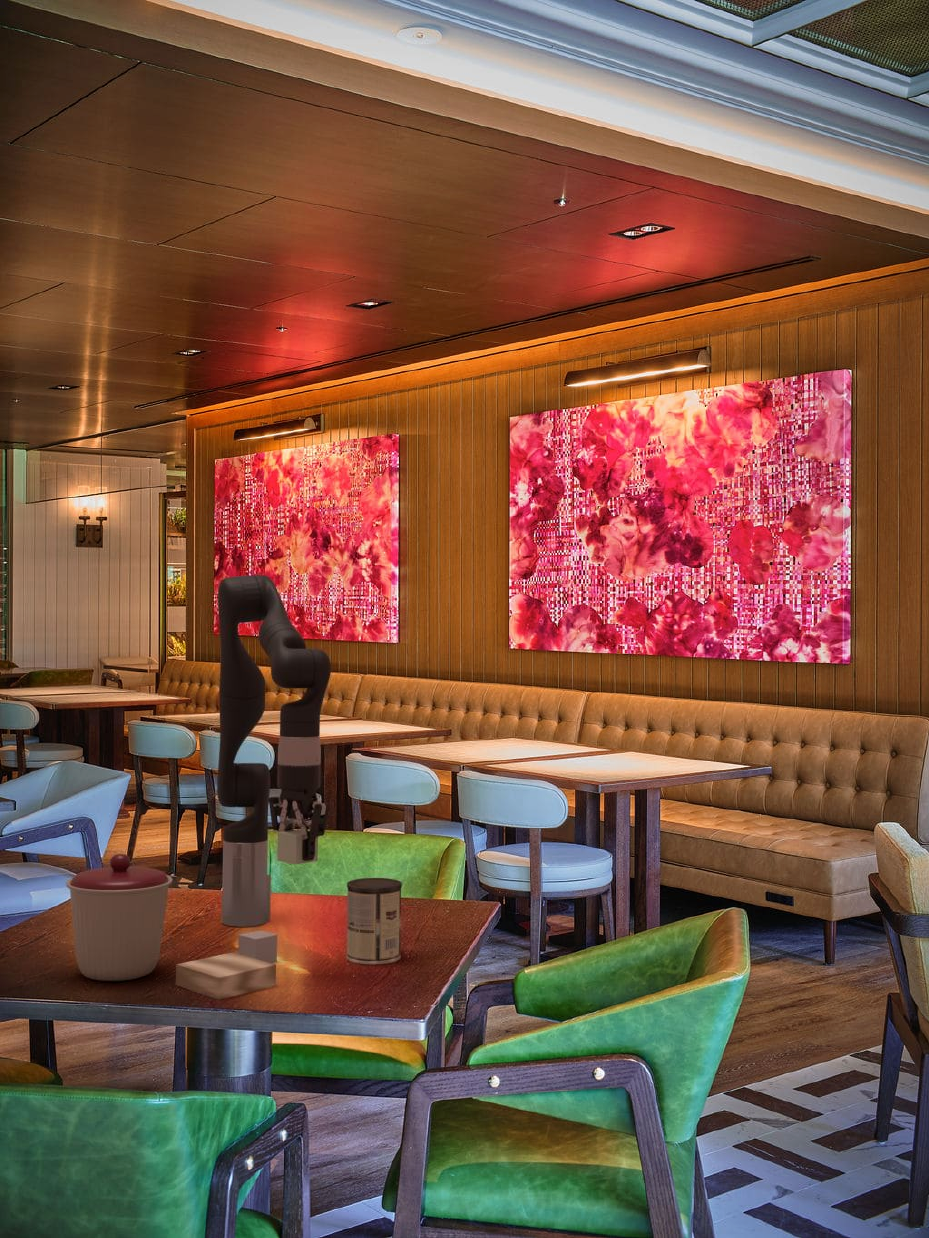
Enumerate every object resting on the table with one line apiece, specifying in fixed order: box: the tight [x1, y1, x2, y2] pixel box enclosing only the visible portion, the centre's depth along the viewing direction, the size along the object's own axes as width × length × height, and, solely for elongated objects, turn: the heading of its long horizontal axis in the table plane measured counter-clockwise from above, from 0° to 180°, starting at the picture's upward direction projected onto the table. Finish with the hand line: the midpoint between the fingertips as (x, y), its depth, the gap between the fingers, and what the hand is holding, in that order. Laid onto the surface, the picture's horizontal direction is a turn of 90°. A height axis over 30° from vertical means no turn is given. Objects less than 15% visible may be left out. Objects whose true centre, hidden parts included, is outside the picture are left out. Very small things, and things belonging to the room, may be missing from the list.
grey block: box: [237, 930, 278, 964], centre depth 231 cm, size 5×5×5 cm
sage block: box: [276, 828, 319, 865], centre depth 222 cm, size 5×5×5 cm
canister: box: [65, 853, 173, 982], centre depth 221 cm, size 18×18×21 cm
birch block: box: [175, 952, 277, 1001], centre depth 215 cm, size 12×12×4 cm
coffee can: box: [346, 877, 403, 966], centre depth 235 cm, size 10×10×14 cm
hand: (297, 857), depth 222 cm, fingers closed on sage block, 5 cm apart
